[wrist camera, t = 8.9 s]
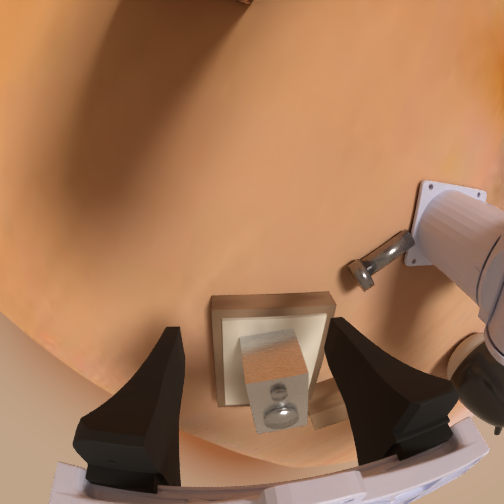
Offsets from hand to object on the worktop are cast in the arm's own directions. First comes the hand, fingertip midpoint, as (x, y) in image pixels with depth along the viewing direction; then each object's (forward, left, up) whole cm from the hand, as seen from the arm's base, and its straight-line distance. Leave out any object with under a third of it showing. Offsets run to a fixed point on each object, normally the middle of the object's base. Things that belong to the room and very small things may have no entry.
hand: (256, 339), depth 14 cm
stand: (-3, +11, -10) cm, 15 cm away
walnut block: (-10, +19, -10) cm, 23 cm away
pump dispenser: (-33, +17, -10) cm, 38 cm away
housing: (-3, +10, -8) cm, 13 cm away
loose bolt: (-12, 0, -10) cm, 16 cm away
